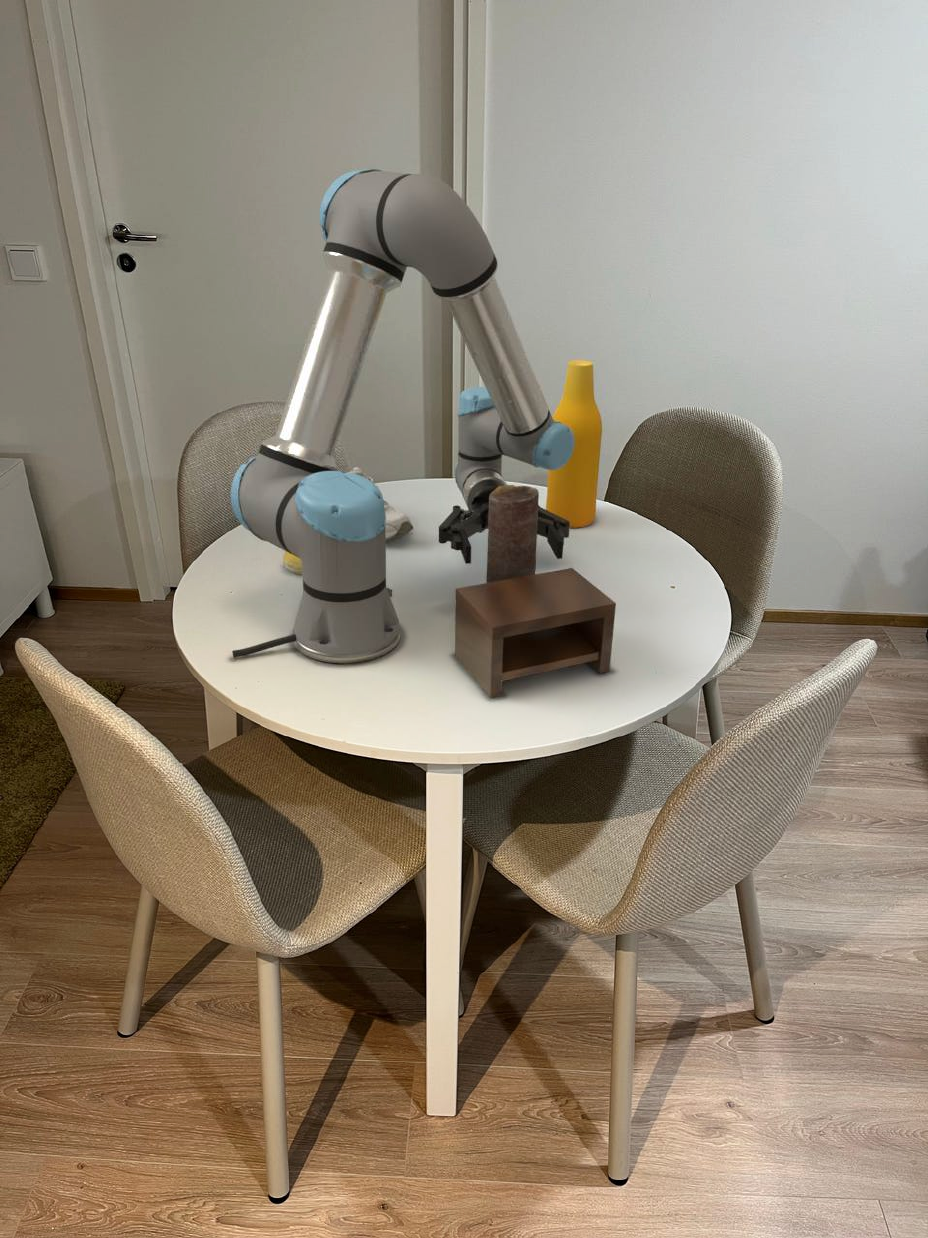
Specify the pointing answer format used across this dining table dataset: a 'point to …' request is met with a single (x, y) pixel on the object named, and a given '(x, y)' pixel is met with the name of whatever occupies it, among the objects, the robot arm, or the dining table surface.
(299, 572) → the bread roll
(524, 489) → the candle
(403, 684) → the dining table surface
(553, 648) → the shelf
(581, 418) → the beer bottle
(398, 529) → the athletic shoe
